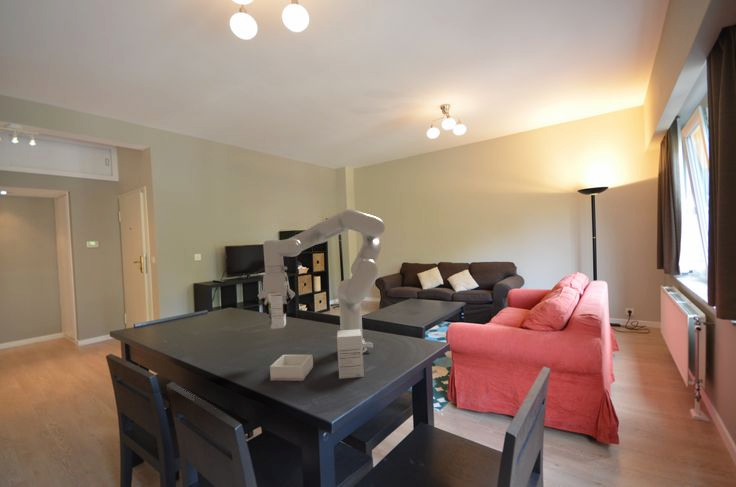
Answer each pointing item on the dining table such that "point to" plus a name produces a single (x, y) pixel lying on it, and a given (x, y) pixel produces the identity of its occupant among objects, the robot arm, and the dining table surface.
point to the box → (291, 367)
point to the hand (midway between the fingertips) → (277, 313)
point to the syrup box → (276, 311)
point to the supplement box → (350, 353)
